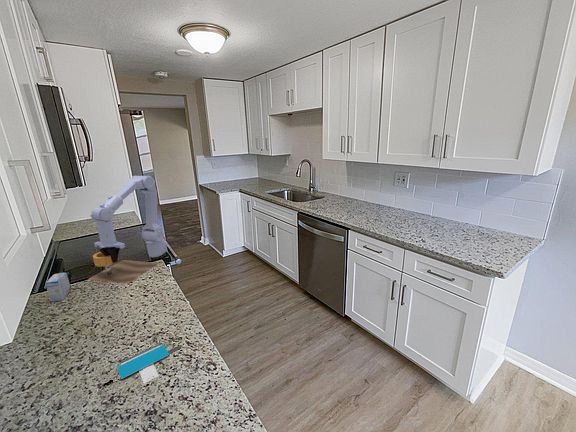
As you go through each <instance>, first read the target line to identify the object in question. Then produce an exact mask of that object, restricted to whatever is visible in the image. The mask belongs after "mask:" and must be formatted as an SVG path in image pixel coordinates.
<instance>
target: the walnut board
mask: <svg viewBox="0 0 576 432" xmlns="http://www.w3.org/2000/svg"><path fill="white" fill-rule="evenodd" d="M159 264H160V262H152V261H151V262H150V261H142V260H141V261H139V260H137V261H136V260H130V259H129V260H127V259H126V260H125V259H122V260H120V261H119V262H118V261H117V262H116V263H114V264H112V265H110V267H111V271H112V274H111V275H107V272H106V268H105V269H103V270H102V271H100V272H98V273H96V274H95V275H92V276H91V277H89V278H87V280H89V281H100V282H108V283H109V282H111V283H119V284H130V283H132V282H133V281H135V280H136V279H138V278H139V277H141V276H142V275H143V274H145V273H147V272H148V271H150V270H151V269H153V268H154V267H156V266H158V265H159Z"/></svg>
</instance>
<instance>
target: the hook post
mask: <svg viewBox="0 0 576 432" xmlns="http://www.w3.org/2000/svg"><path fill="white" fill-rule="evenodd" d="M104 268H105V269H106V272H107V275H111V274H112V271H111V265H108V266H104Z"/></svg>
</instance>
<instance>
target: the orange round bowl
mask: <svg viewBox="0 0 576 432" xmlns="http://www.w3.org/2000/svg"><path fill="white" fill-rule="evenodd" d="M92 258H93V264H94V265H95V267H98V268H99V267H100V268H102V267H105V266H108V265H110V266H113V265H115V264H116V263H117V262H115V263H113V262H112V259H111V256H106V257H105V255H104V254H103V253H102V252H100V251H99V252H97V253H94V254H93V255H92ZM119 259H120V258H118V261H119Z"/></svg>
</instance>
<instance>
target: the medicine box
mask: <svg viewBox="0 0 576 432" xmlns="http://www.w3.org/2000/svg"><path fill="white" fill-rule="evenodd" d="M70 283H71V282H70V280H69V276H68V273H67V272H59V273H54V274H53V275H52V276H50V278H49V279H47V281H46V282H45V287H46V290H47V293H48V297H49V300H50V302H57V301H63V300H65V298H66V297H67V296H68V295H69V293H70V292H71V291H72V288H71V284H70Z"/></svg>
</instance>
